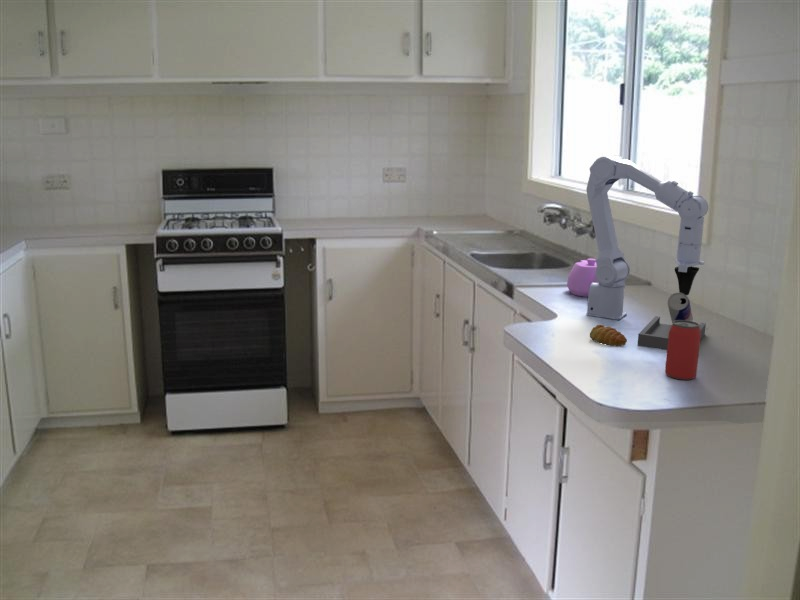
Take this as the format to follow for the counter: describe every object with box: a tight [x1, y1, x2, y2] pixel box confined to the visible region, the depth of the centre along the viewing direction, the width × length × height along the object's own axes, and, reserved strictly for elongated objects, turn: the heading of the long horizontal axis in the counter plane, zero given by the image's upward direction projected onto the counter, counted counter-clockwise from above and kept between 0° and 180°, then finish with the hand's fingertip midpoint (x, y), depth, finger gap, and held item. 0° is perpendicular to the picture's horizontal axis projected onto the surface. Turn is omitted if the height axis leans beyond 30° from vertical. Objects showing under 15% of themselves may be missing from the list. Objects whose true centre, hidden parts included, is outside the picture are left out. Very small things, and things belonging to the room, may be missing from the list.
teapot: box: [566, 258, 598, 298], centre depth 254 cm, size 13×20×11 cm
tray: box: [637, 316, 707, 351], centre depth 208 cm, size 13×20×3 cm, turn 152°
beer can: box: [664, 320, 701, 381], centre depth 179 cm, size 7×7×12 cm
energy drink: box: [667, 292, 694, 324], centre depth 214 cm, size 5×5×12 cm
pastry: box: [589, 324, 628, 348], centre depth 204 cm, size 9×7×4 cm
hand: (684, 294), depth 216 cm, fingers closed
